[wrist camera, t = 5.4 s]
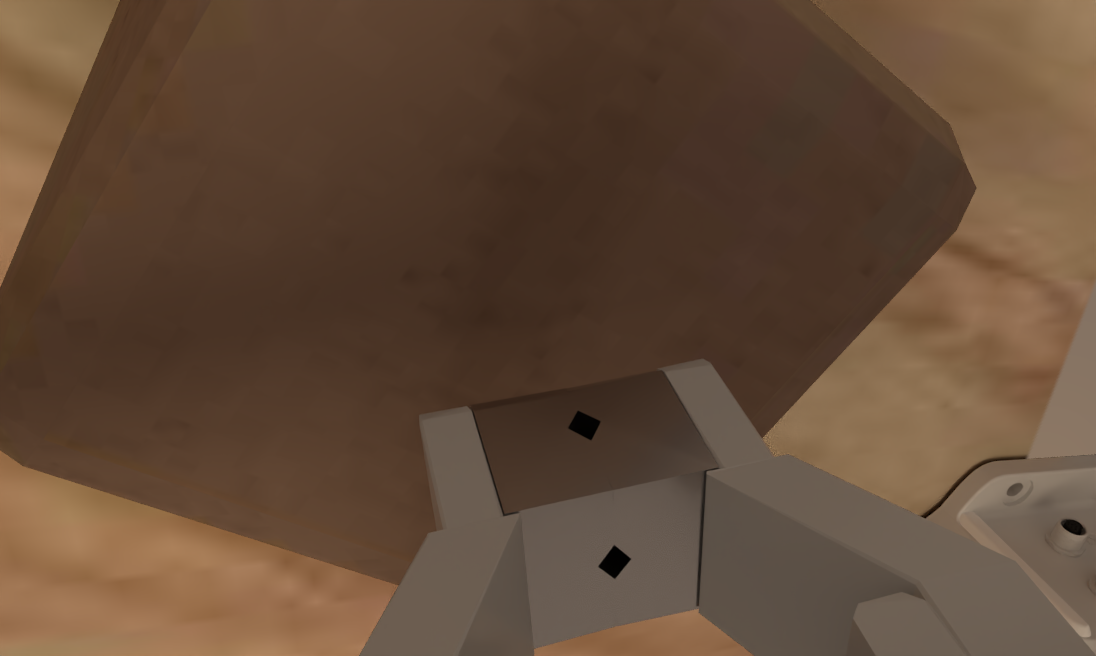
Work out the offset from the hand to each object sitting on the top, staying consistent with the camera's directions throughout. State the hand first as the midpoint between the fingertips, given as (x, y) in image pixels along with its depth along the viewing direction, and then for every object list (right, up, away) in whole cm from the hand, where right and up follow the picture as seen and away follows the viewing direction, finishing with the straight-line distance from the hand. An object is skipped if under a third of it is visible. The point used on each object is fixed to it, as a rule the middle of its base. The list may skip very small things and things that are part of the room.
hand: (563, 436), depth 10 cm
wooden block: (-5, +12, +18) cm, 23 cm away
